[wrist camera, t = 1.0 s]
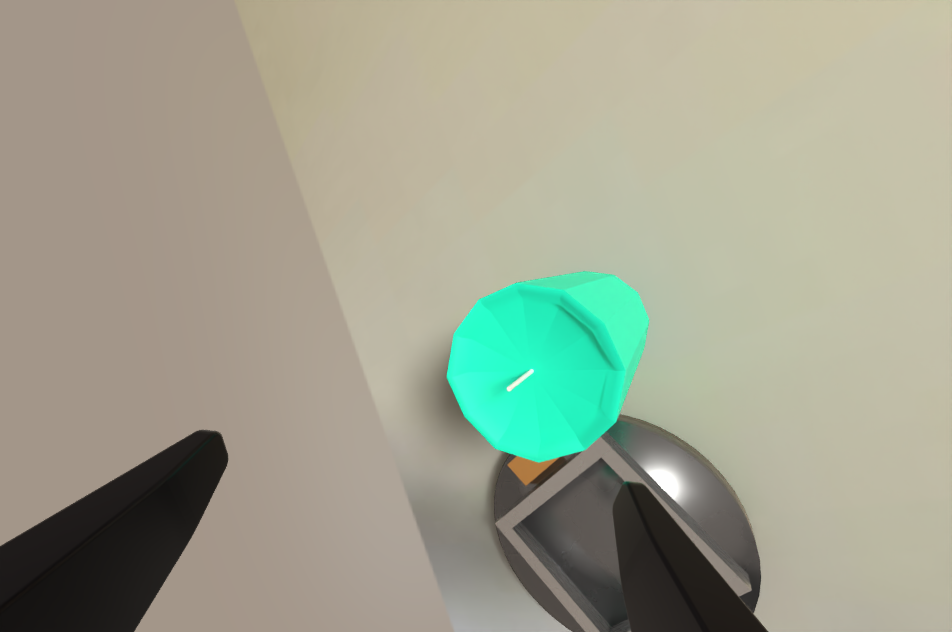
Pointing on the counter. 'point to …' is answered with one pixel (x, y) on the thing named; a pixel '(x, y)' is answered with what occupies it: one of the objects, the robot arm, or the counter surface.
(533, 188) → the counter surface
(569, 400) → the candle
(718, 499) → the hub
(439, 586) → the counter surface
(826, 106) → the counter surface
